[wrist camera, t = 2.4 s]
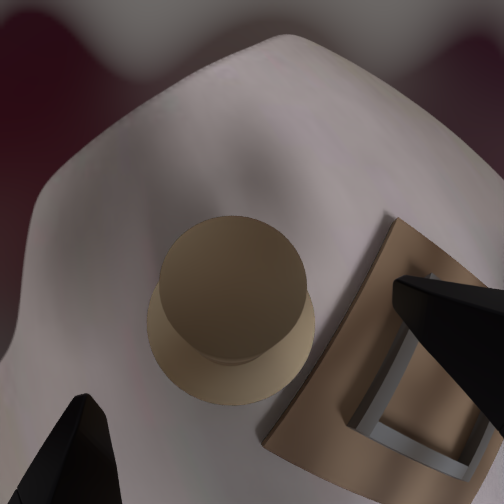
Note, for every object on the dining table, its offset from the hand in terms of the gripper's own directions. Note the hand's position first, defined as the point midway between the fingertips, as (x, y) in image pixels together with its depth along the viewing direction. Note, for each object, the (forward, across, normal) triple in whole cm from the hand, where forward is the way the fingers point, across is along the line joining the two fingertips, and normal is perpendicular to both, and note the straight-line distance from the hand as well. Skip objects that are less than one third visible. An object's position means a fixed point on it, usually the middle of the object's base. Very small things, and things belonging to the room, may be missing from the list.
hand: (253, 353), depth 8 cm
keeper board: (+2, -12, +13) cm, 18 cm away
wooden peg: (+9, 0, +7) cm, 11 cm away
